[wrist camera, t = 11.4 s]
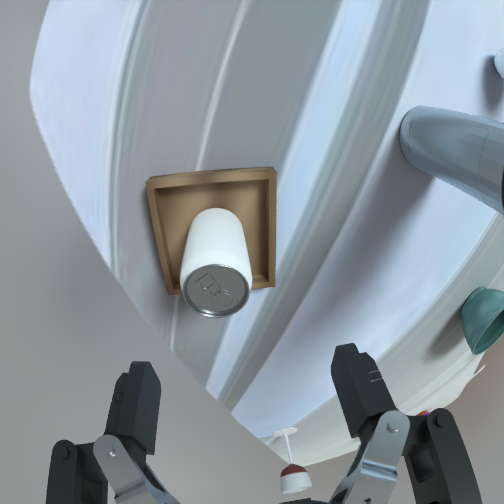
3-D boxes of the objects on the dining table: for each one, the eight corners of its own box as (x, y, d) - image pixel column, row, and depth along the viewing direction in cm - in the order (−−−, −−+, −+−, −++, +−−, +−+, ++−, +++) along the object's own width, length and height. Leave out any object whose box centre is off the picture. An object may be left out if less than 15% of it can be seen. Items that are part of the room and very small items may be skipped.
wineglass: (284, 425, 64) (296, 487, 47) (304, 428, 68) (318, 485, 50) (265, 435, 67) (275, 493, 50) (286, 438, 70) (297, 492, 53)
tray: (272, 166, 30) (276, 171, 28) (271, 275, 38) (274, 286, 36) (150, 176, 29) (145, 182, 27) (170, 283, 37) (168, 294, 35)
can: (212, 264, 35) (212, 331, 25) (178, 228, 32) (161, 288, 22) (253, 235, 34) (269, 296, 23) (220, 195, 31) (221, 244, 20)
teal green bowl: (483, 312, 53) (503, 337, 44) (444, 335, 54) (464, 365, 44) (499, 266, 45) (525, 291, 36) (459, 287, 46) (487, 319, 36)
